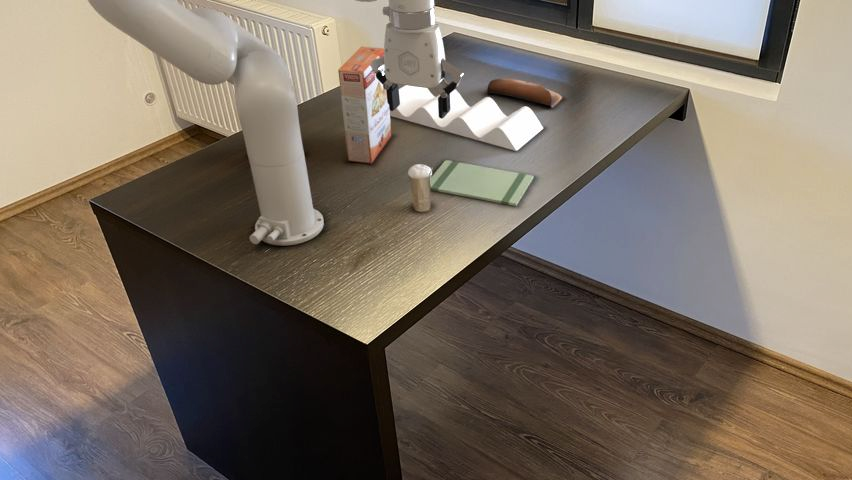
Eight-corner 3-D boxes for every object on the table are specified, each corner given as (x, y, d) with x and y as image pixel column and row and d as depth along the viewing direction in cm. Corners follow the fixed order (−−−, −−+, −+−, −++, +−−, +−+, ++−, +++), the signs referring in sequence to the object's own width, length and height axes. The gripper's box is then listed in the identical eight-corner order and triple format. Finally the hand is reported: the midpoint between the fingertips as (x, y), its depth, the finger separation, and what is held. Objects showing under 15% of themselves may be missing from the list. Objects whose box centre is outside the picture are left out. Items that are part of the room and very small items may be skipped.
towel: (516, 206, 149) (516, 203, 148) (423, 188, 154) (423, 186, 153) (533, 177, 158) (533, 175, 157) (445, 162, 163) (445, 159, 162)
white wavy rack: (516, 150, 167) (517, 129, 164) (389, 115, 181) (388, 95, 178) (543, 128, 176) (544, 108, 173) (420, 96, 190) (419, 77, 187)
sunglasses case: (564, 95, 190) (560, 78, 184) (554, 117, 188) (549, 101, 182) (501, 81, 197) (495, 65, 191) (490, 103, 195) (484, 86, 189)
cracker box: (373, 165, 161) (364, 71, 149) (347, 162, 162) (335, 69, 149) (393, 136, 172) (386, 47, 159) (368, 133, 173) (359, 44, 160)
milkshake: (427, 217, 145) (425, 172, 139) (405, 209, 147) (402, 164, 141) (441, 207, 148) (439, 162, 142) (419, 199, 150) (417, 155, 144)
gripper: (355, 18, 125) (366, 113, 135) (452, 30, 120) (456, 127, 131) (375, 4, 130) (384, 97, 141) (468, 15, 126) (470, 109, 137)
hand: (419, 111), depth 136 cm, fingers open, 9 cm apart
